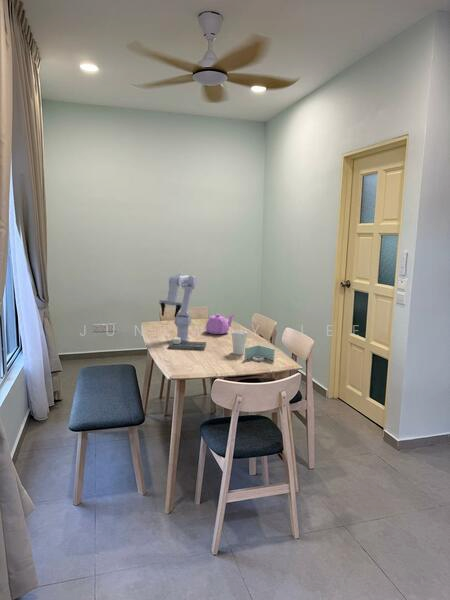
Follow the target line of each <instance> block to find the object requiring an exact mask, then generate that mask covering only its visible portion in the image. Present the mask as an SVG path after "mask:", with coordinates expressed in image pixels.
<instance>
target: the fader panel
mask: <svg viewBox="0 0 450 600" xmlns="http://www.w3.org/2000/svg"><path fill="white" fill-rule="evenodd" d="M206 346H207V342H206V341H189V340H188V341H181V342H180V344H173V340H171V342H169V344H168V349H171V350H191V351H193V350H194V351H205V349H206Z"/></svg>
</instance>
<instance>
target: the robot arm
mask: <svg viewBox="0 0 450 600" xmlns="http://www.w3.org/2000/svg"><path fill="white" fill-rule="evenodd" d="M196 282H197V277H196V276H195V275H191V274H190V275H189V274H188V275H187V274H186V275H185V274H177V275H175V276H171V277H170V276H169V279H168V292H167V298H166V300H165V299H164V300H163V299H159V300H158V301H159V302H158V303H159V305H160V308H161V316H162V317H164V314H165V310H166V309H165V308H166V305H169V306H174V307H175V312H174V316H173V317H174V325H175V326H176V327H177V328H176V330H177V331H176V337H179V338H181V341H189V339H190V337H189V327H190V326H191V323H192V316H191V314H189V310H190V309H189V308H190V303H191V297H192V291H193V290H194V289H195V288H196V284H197V283H196ZM180 287H181V289H183V290H184V293H183V296H182V302H179V301H177V299H178V294H179V288H180Z"/></svg>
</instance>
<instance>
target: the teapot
mask: <svg viewBox="0 0 450 600" xmlns="http://www.w3.org/2000/svg"><path fill="white" fill-rule="evenodd" d="M234 316H235V313H234V314H231V315H230V316H229V317H228V321H227V319H226V317H225V316H222V315H221V314H220V313H215V315H211V316H210V317H209V318H208V320H207V322H206V325H205V330H206V332H207V333H209V334H211V335H224V334H226V333H228V332H229V331H230V327H231V326H232V324H233V323H232V321H233V320H232V319H233V317H234Z"/></svg>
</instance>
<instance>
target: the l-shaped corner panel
mask: <svg viewBox="0 0 450 600" xmlns="http://www.w3.org/2000/svg"><path fill="white" fill-rule="evenodd" d="M275 352H276V351H275V348H273V347H270V346H265V345H261V344H255V345H251V346H247V347H245V348H244V358H243V359H244V360H245V361H248V360H252V361H253V360H254V361H253V362H255V361H262V362H264V360H265V359H264V358H267V359H266V360H268V359H270V360H269V361H271V360H274V361H275ZM250 358H251V359H250ZM247 359H248V360H247Z"/></svg>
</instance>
